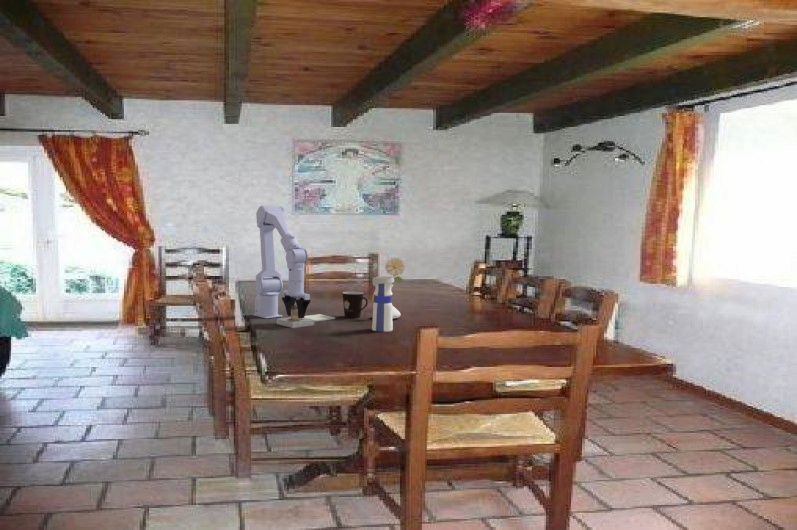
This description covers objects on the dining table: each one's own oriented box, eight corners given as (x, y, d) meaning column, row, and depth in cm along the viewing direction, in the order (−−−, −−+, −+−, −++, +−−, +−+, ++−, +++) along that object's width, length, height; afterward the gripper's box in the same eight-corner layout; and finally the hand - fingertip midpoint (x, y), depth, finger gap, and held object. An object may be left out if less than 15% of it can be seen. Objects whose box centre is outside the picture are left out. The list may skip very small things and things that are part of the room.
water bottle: (367, 330, 232) (369, 262, 230) (374, 326, 240) (375, 260, 238) (389, 332, 230) (391, 263, 228) (395, 328, 238) (397, 261, 236)
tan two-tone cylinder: (288, 324, 241) (289, 305, 240) (296, 323, 243) (296, 305, 243) (294, 325, 238) (294, 307, 238) (302, 324, 241) (302, 306, 240)
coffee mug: (338, 315, 263) (339, 291, 262) (358, 315, 267) (358, 291, 266) (348, 320, 253) (349, 295, 252) (369, 319, 256) (369, 294, 255)
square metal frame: (276, 324, 241) (276, 318, 240) (298, 321, 248) (298, 316, 248) (292, 327, 234) (292, 322, 233) (314, 325, 241) (314, 319, 240)
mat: (299, 318, 255) (299, 316, 255) (319, 315, 263) (319, 314, 262) (315, 321, 248) (315, 319, 248) (335, 318, 255) (335, 317, 255)
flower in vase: (368, 319, 256) (370, 257, 254) (377, 315, 267) (379, 255, 265) (399, 322, 252) (401, 258, 250) (407, 317, 263) (409, 257, 261)
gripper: (276, 279, 242) (275, 315, 243) (299, 283, 231) (298, 320, 232) (291, 278, 247) (291, 313, 248) (314, 282, 236) (314, 318, 237)
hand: (295, 316), depth 240 cm, fingers open, 6 cm apart
